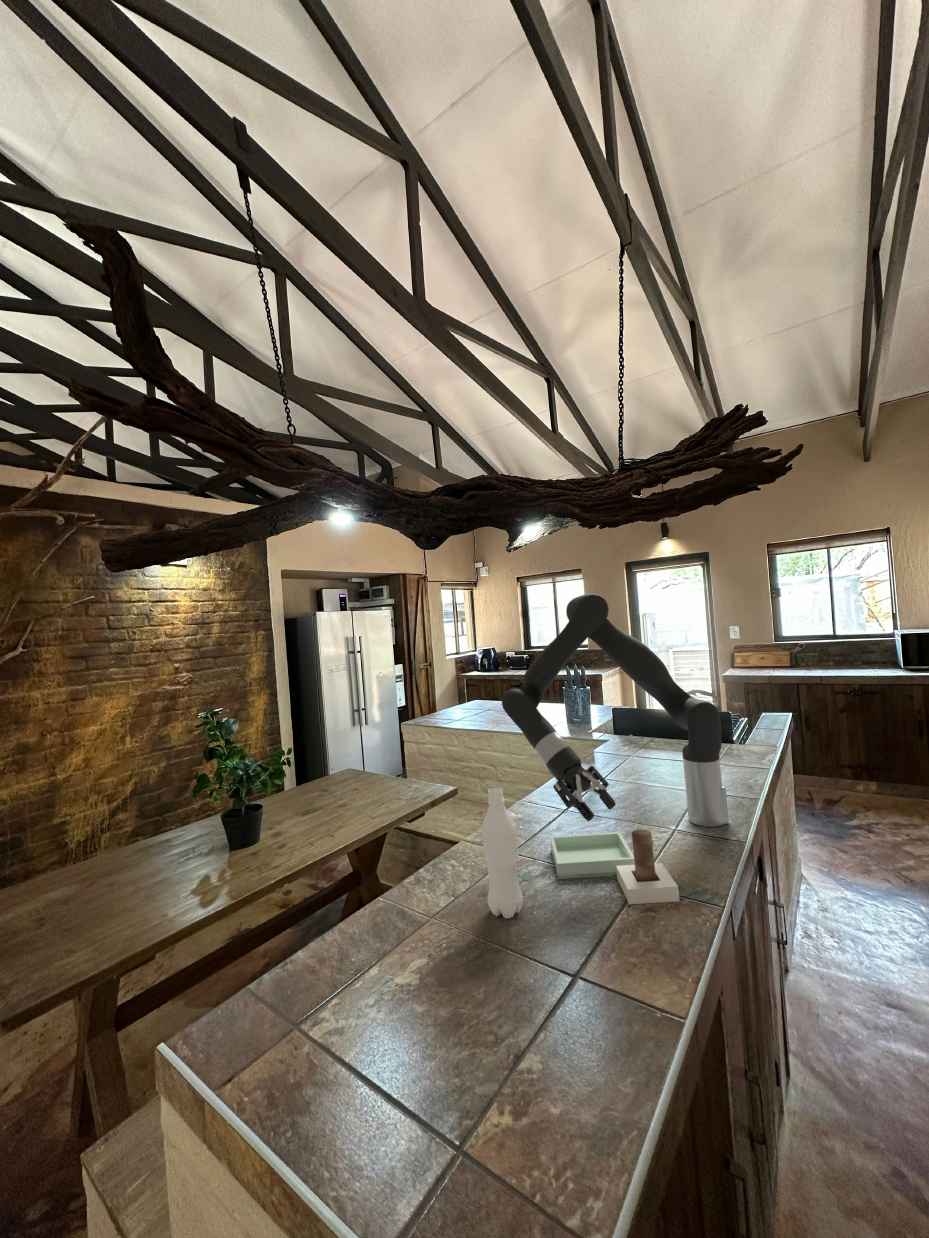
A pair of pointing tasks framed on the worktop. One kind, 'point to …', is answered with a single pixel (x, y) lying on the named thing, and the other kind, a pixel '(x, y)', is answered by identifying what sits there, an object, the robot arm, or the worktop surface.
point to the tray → (590, 855)
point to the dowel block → (647, 886)
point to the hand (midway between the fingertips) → (602, 812)
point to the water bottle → (501, 857)
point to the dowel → (643, 855)
